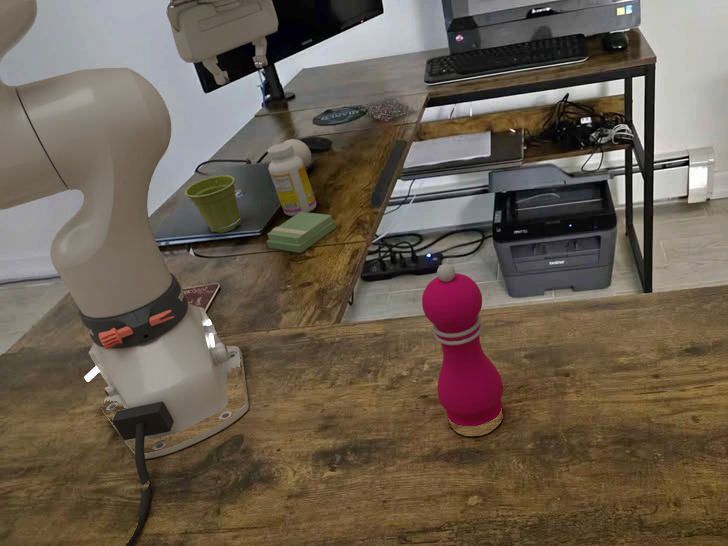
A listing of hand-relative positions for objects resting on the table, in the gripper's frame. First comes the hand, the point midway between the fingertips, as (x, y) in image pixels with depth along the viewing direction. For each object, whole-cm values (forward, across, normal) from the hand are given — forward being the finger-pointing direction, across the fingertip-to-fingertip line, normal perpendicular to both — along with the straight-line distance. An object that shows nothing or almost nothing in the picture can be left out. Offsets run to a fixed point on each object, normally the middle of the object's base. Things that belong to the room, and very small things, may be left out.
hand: (243, 74), depth 117 cm
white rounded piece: (+27, +19, +16) cm, 37 cm away
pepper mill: (+26, -40, -66) cm, 81 cm away
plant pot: (+27, -8, +10) cm, 30 cm away
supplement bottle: (+27, +2, -1) cm, 27 cm away
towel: (+26, -8, -10) cm, 29 cm away
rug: (+27, +59, +19) cm, 68 cm away
